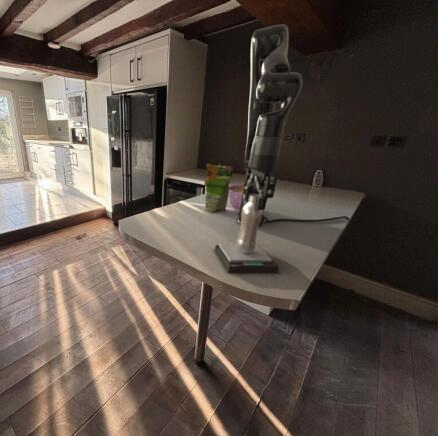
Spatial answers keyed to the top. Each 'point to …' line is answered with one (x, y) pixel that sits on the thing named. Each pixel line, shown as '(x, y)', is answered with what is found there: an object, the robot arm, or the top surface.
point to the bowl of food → (235, 196)
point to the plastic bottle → (249, 225)
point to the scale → (245, 260)
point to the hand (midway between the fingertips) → (253, 205)
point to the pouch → (217, 187)
